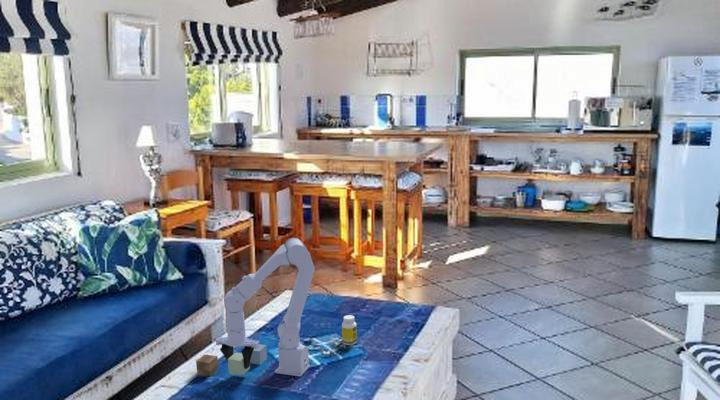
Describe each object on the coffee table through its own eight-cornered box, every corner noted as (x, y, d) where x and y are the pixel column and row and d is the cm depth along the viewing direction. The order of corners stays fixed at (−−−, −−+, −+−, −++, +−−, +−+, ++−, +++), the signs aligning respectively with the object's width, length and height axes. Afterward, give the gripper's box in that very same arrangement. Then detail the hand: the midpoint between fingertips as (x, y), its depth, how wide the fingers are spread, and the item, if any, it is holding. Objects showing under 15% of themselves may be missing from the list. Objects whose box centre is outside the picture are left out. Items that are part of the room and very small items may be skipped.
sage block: (250, 368, 203) (248, 354, 202) (242, 375, 199) (241, 360, 198) (236, 366, 205) (235, 352, 204) (228, 373, 200) (227, 359, 199)
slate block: (267, 358, 215) (266, 345, 214) (260, 364, 210) (259, 351, 209) (254, 356, 216) (253, 343, 215) (247, 363, 212) (246, 349, 211)
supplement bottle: (355, 346, 222) (354, 320, 220) (340, 345, 223) (339, 319, 221) (358, 339, 227) (357, 314, 225) (344, 338, 228) (343, 313, 226)
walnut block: (218, 369, 207) (217, 356, 206) (210, 376, 203) (209, 362, 202) (205, 368, 209) (204, 354, 208) (197, 375, 204) (196, 361, 203)
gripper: (262, 324, 200) (264, 363, 203) (221, 321, 204) (225, 359, 207) (252, 333, 194) (255, 373, 196) (211, 329, 198) (214, 368, 201)
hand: (239, 366), depth 201 cm, fingers closed on sage block, 5 cm apart
